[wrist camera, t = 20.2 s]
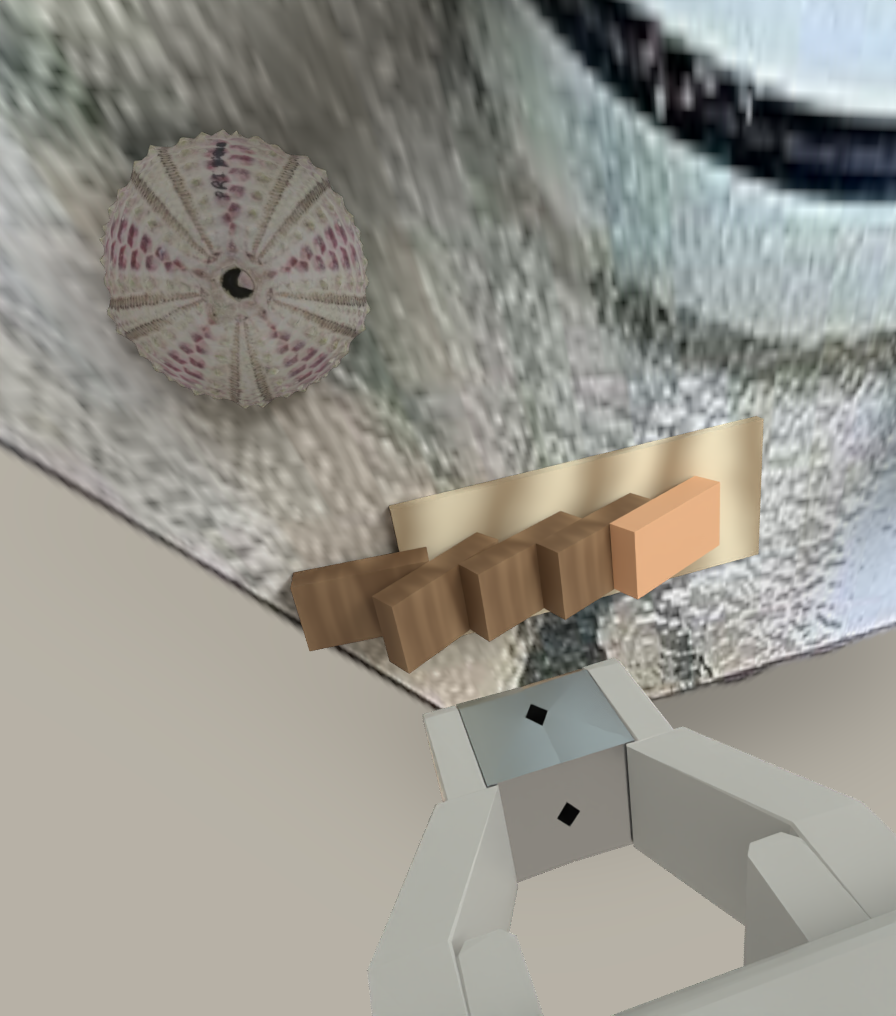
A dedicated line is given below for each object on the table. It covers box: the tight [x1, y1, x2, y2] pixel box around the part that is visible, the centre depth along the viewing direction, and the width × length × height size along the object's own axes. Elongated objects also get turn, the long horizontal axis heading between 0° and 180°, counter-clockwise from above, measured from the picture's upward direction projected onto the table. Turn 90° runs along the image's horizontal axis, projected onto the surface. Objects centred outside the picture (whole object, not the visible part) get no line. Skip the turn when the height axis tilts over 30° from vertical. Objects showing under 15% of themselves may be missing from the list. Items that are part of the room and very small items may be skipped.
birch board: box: [389, 416, 763, 636], centre depth 48 cm, size 27×11×1 cm, turn 100°
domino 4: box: [536, 493, 652, 620], centre depth 45 cm, size 2×5×9 cm
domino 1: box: [291, 547, 429, 651], centre depth 44 cm, size 2×5×9 cm
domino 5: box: [610, 476, 720, 599], centre depth 45 cm, size 2×5×9 cm
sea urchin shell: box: [99, 130, 371, 409], centre depth 33 cm, size 13×14×8 cm
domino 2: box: [372, 532, 499, 673], centre depth 43 cm, size 2×5×9 cm
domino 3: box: [458, 511, 582, 642], centre depth 44 cm, size 2×5×9 cm
